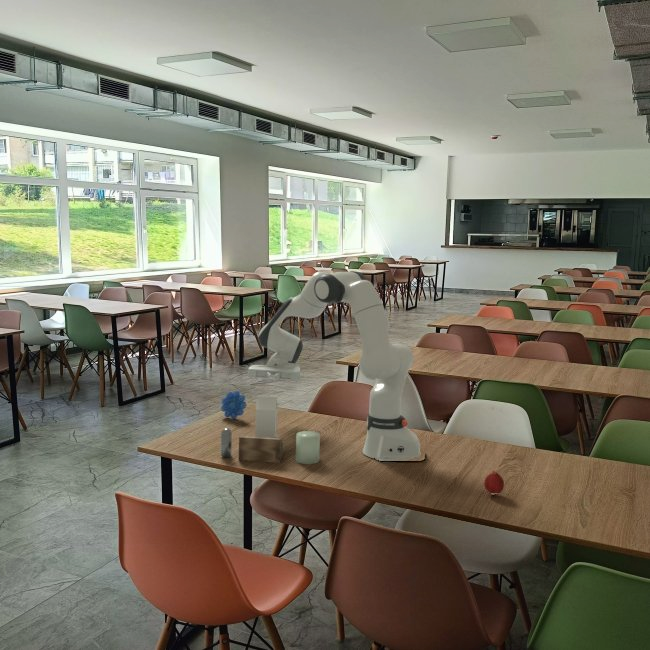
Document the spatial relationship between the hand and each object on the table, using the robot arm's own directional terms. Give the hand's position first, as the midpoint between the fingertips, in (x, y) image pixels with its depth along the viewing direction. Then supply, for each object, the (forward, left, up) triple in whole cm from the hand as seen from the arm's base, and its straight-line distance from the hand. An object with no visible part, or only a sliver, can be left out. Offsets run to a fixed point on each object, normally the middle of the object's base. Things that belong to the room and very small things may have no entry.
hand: (272, 377), depth 240 cm
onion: (-75, +43, -23) cm, 90 cm away
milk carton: (0, +12, -23) cm, 26 cm away
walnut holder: (0, +21, -23) cm, 31 cm away
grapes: (+18, -21, -23) cm, 36 cm away
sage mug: (-16, +21, -23) cm, 35 cm away
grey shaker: (+12, +23, -23) cm, 35 cm away
